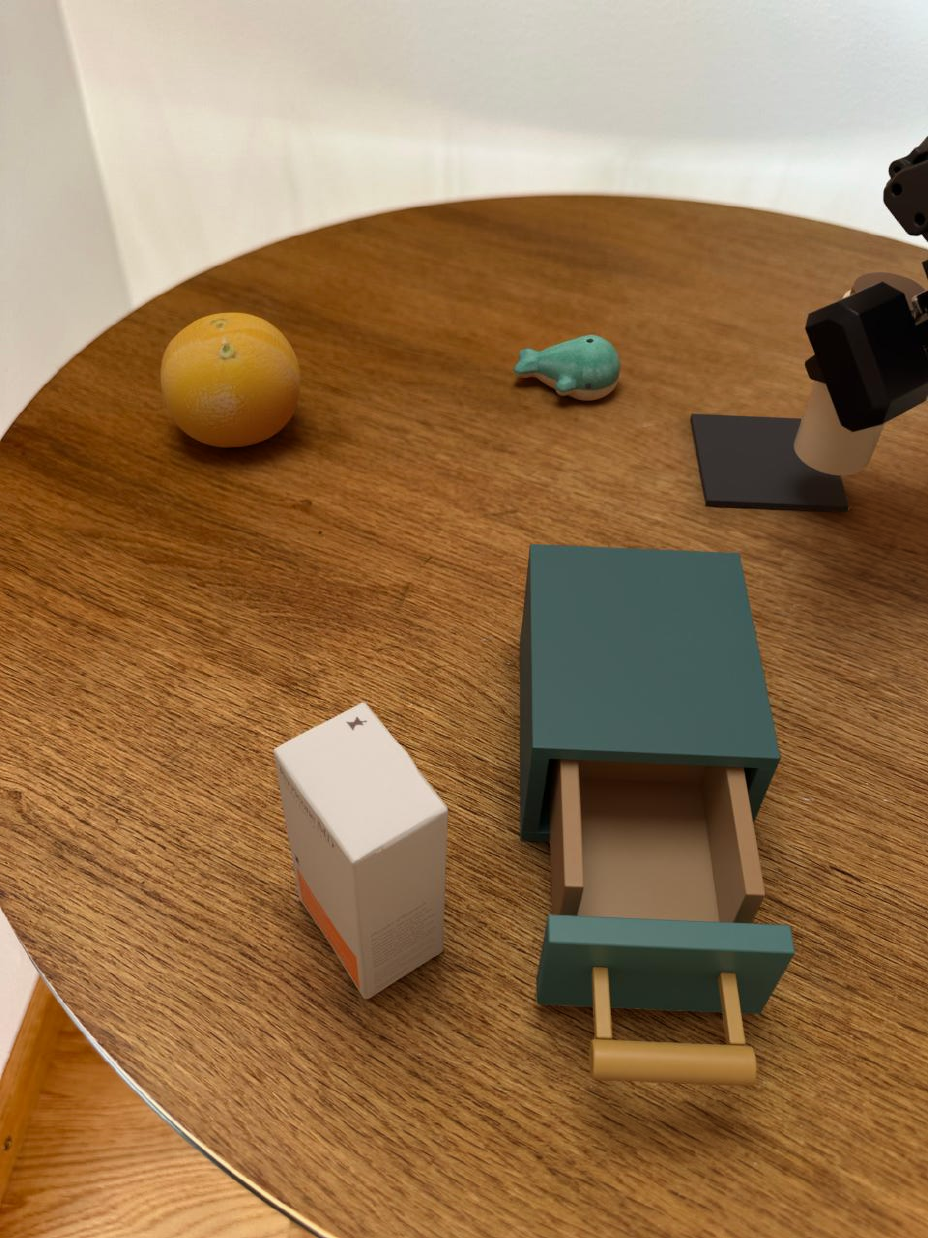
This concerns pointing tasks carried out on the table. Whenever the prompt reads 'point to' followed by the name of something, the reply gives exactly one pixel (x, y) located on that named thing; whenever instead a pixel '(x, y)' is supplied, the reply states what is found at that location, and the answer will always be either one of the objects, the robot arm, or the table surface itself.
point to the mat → (760, 465)
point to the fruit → (230, 380)
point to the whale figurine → (574, 367)
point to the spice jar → (820, 426)
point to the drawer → (658, 912)
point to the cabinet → (639, 668)
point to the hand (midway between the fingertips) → (836, 356)
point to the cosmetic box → (365, 846)
